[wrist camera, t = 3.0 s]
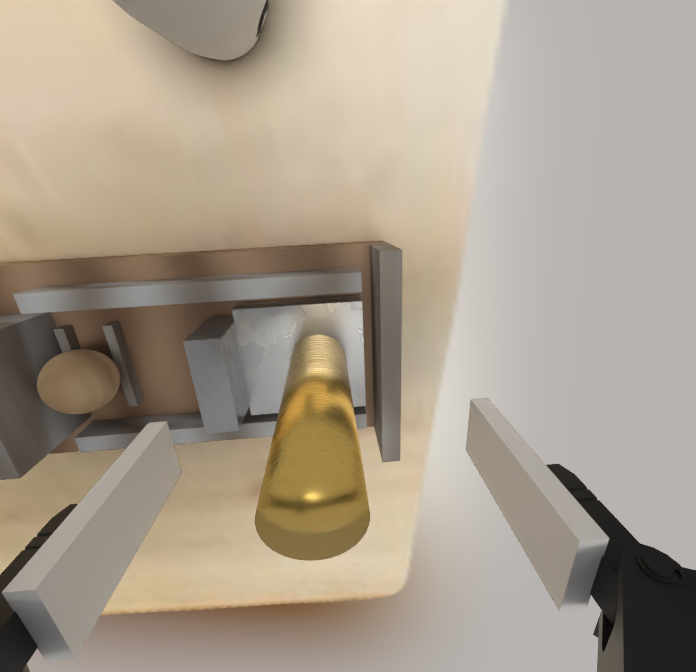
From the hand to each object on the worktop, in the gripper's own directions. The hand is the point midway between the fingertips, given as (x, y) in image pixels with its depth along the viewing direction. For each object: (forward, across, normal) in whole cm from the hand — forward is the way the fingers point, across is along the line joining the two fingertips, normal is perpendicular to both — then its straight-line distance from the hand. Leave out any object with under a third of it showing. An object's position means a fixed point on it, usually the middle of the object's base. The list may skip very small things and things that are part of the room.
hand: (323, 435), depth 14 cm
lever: (+9, -2, 0) cm, 10 cm away
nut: (+9, -15, 0) cm, 18 cm away
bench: (+12, -8, 0) cm, 14 cm away
